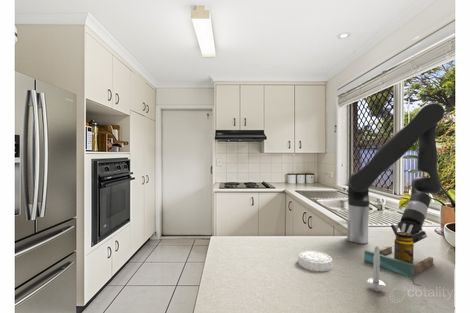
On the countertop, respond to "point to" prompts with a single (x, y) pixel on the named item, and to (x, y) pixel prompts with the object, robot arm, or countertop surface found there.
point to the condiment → (404, 247)
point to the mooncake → (315, 261)
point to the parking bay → (397, 262)
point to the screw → (376, 273)
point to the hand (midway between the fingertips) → (401, 249)
